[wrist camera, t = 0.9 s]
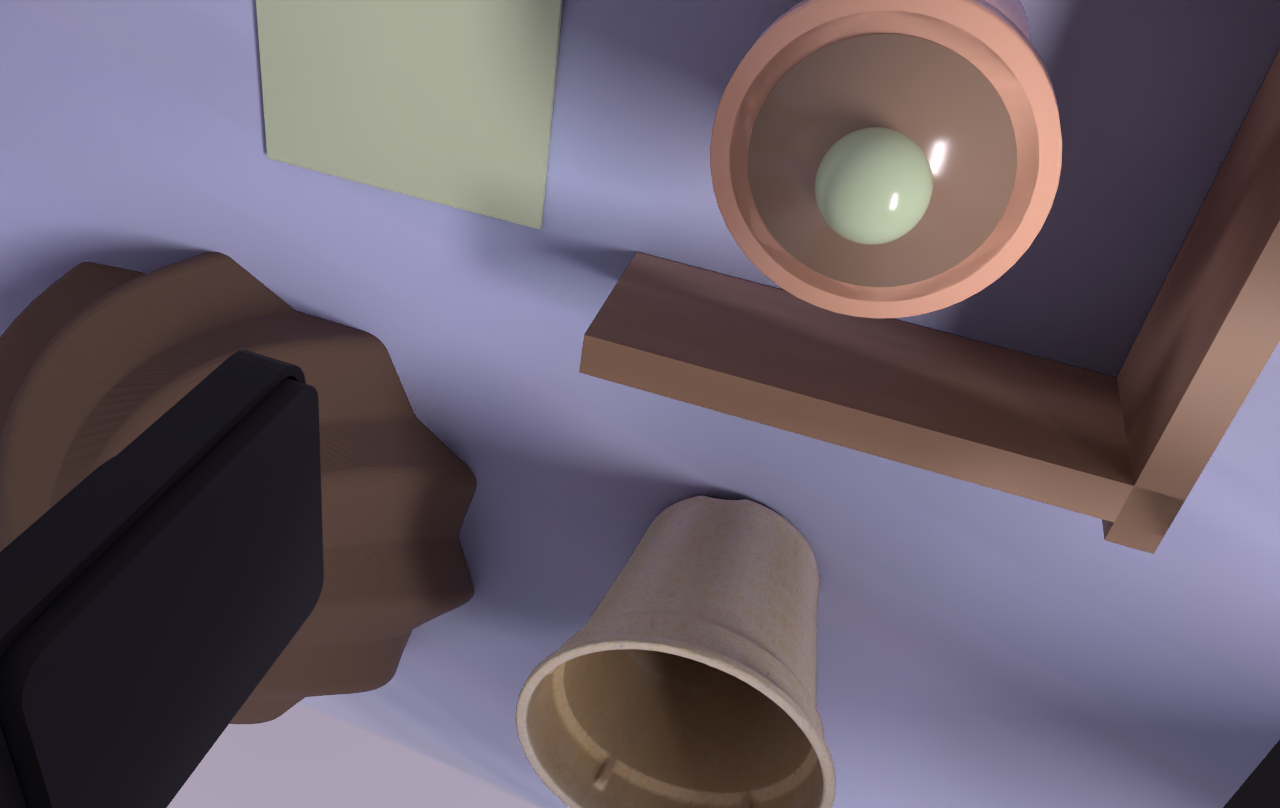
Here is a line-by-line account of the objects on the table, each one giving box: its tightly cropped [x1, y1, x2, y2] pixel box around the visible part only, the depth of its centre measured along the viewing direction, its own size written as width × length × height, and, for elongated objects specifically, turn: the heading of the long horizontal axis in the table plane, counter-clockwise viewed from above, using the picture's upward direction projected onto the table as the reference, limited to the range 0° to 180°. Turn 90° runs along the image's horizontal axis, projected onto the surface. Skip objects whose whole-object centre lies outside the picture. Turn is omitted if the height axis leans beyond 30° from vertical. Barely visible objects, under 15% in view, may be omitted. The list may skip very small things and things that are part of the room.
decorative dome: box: [0, 252, 476, 724], centre depth 38 cm, size 19×20×10 cm
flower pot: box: [516, 496, 836, 808], centre depth 34 cm, size 9×9×9 cm
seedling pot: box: [710, 0, 1062, 319], centre depth 23 cm, size 7×7×9 cm
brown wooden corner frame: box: [580, 49, 1280, 554], centre depth 24 cm, size 18×15×5 cm
